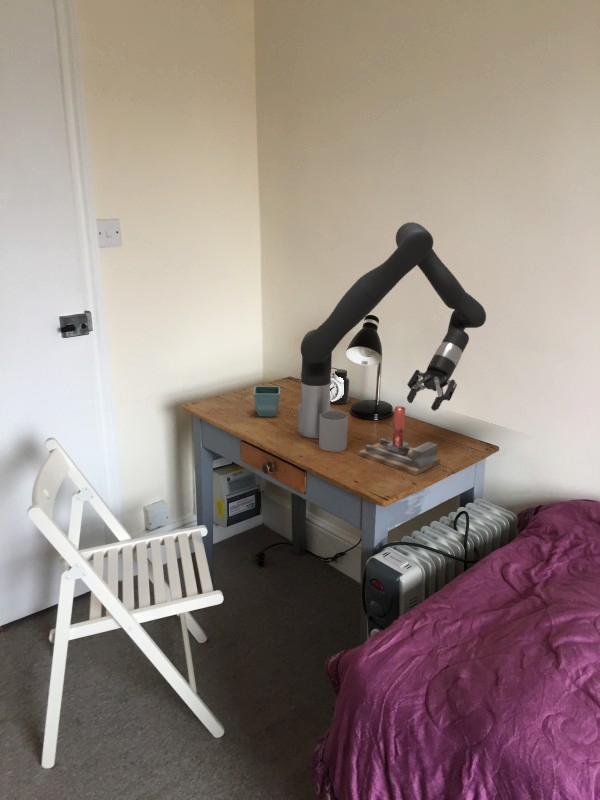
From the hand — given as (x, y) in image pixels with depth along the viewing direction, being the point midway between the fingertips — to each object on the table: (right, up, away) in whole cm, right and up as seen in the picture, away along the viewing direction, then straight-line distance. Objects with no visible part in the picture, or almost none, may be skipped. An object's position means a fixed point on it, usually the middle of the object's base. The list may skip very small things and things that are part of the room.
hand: (420, 405), depth 194 cm
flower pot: (-47, -4, +31) cm, 57 cm away
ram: (-8, -14, -5) cm, 17 cm away
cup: (-26, -13, +4) cm, 29 cm away
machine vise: (-7, -15, -5) cm, 18 cm away
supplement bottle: (-22, +1, +45) cm, 50 cm away
